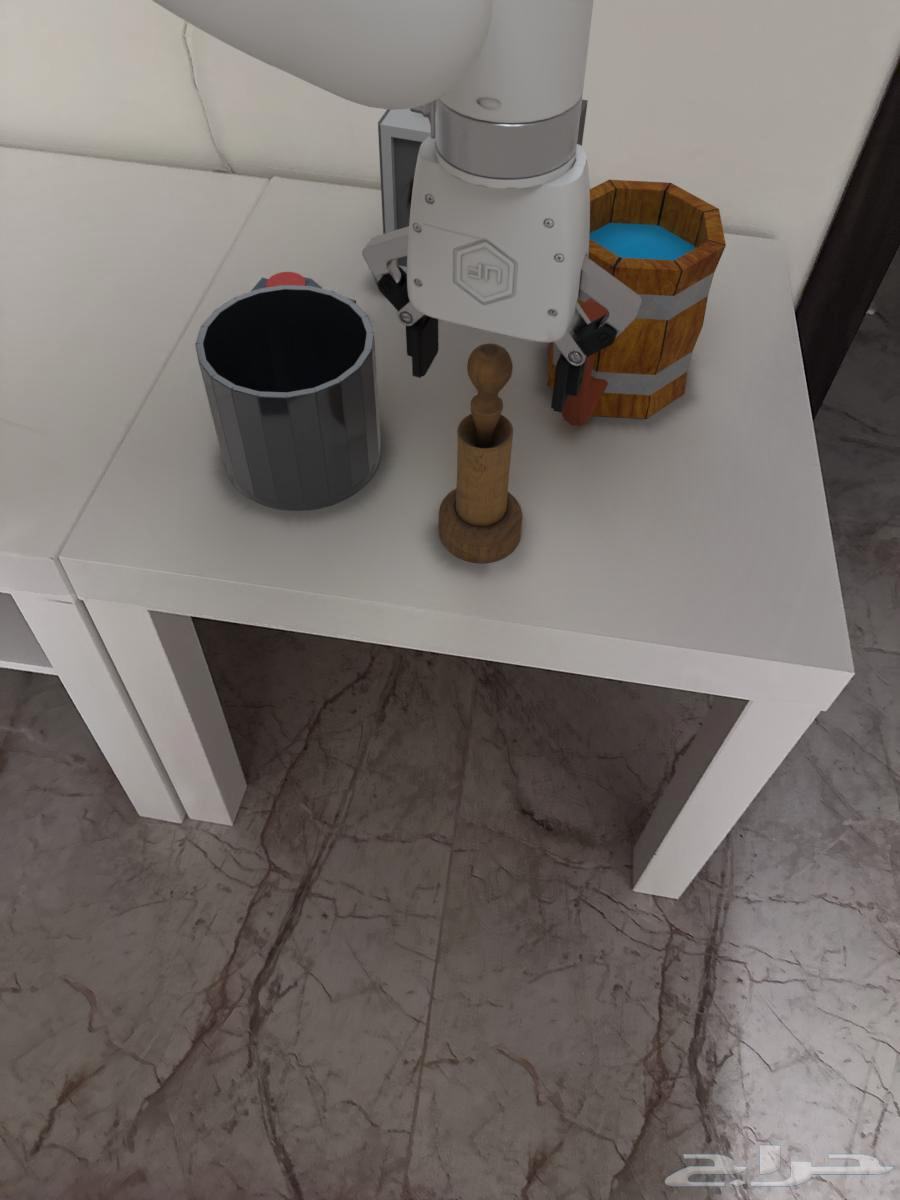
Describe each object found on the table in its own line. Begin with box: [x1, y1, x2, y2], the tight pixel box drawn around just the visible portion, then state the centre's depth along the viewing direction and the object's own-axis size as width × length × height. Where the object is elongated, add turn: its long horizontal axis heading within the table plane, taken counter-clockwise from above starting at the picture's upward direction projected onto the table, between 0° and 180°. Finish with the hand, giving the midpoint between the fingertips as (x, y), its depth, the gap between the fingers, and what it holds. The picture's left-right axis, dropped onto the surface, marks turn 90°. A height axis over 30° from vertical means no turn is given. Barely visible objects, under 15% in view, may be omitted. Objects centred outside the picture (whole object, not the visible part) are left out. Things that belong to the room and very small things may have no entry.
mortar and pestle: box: [438, 342, 523, 564], centre depth 67 cm, size 7×6×18 cm
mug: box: [546, 179, 727, 427], centre depth 78 cm, size 20×14×15 cm
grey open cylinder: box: [194, 285, 382, 511], centre depth 74 cm, size 13×13×12 cm
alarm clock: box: [374, 99, 589, 286], centre depth 88 cm, size 18×13×18 cm
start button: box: [266, 271, 306, 287], centre depth 85 cm, size 4×4×2 cm
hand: (493, 381), depth 62 cm, fingers open, 9 cm apart
